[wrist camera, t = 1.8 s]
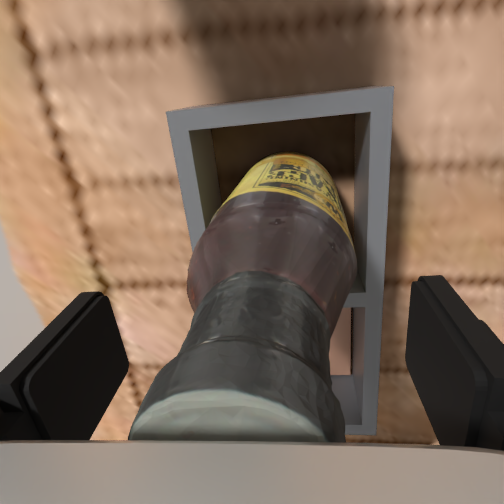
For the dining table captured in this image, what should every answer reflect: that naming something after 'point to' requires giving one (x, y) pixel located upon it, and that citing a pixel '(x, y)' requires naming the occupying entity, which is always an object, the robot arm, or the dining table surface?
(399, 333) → the dining table surface
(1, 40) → the dining table surface
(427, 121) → the dining table surface
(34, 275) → the dining table surface
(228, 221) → the sauce bottle
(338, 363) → the dock
